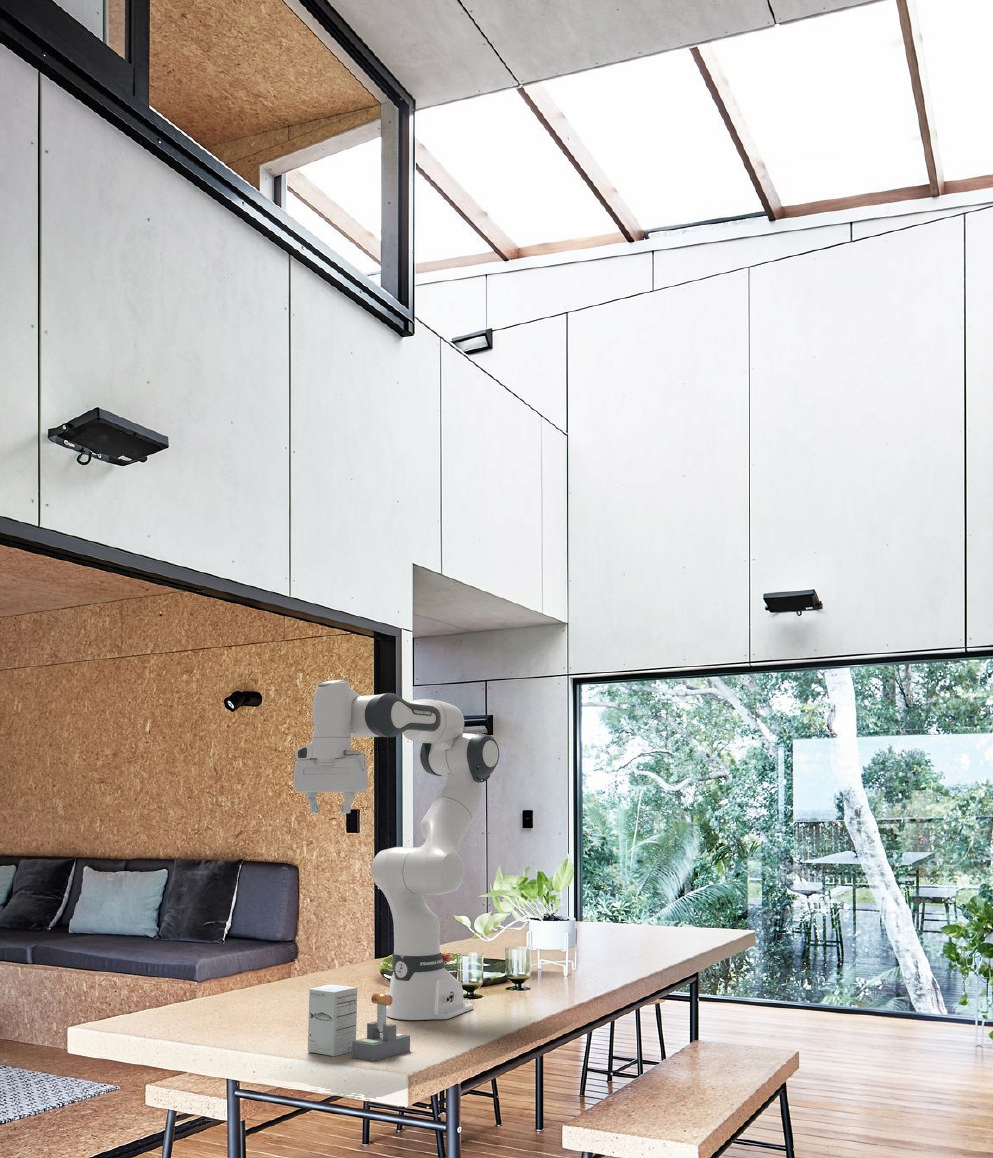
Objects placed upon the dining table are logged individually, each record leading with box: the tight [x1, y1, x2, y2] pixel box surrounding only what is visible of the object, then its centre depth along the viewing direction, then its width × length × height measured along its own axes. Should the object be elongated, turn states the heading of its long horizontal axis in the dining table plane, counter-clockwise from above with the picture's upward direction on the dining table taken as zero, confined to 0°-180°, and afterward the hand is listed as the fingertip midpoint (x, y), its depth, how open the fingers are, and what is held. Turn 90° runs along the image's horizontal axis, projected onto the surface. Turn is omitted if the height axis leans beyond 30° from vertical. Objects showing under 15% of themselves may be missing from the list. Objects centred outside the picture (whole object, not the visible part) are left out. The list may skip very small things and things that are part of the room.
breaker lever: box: [370, 993, 392, 1034], centre depth 235 cm, size 2×4×8 cm, turn 54°
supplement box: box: [307, 984, 358, 1057], centre depth 237 cm, size 7×7×13 cm
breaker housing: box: [351, 1021, 411, 1062], centre depth 234 cm, size 11×6×6 cm, turn 144°
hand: (330, 813), depth 257 cm, fingers open, 8 cm apart
